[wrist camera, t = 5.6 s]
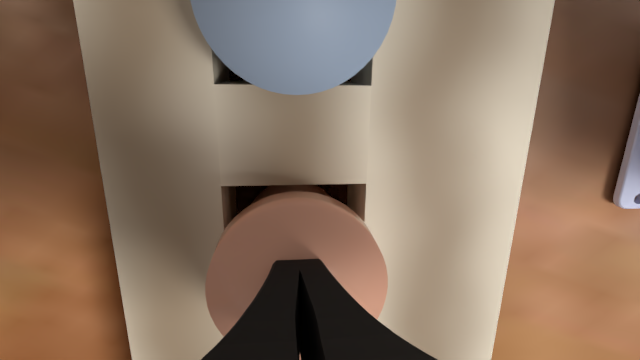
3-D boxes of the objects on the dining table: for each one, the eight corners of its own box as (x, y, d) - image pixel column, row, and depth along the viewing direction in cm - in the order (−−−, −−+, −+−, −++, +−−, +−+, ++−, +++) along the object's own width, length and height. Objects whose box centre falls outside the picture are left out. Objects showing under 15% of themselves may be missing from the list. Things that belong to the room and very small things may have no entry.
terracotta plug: (359, 161, 15) (393, 203, 10) (354, 278, 16) (382, 359, 12) (224, 163, 14) (197, 207, 10) (232, 283, 16) (212, 371, 11)
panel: (517, -165, 13) (598, -245, 10) (435, 438, 21) (464, 507, 18) (97, -198, 12) (23, -304, 8) (181, 460, 20) (161, 541, 16)
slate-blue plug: (363, -64, 13) (405, -131, 9) (357, 87, 15) (390, 95, 10) (213, -71, 13) (177, -145, 8) (223, 85, 14) (196, 94, 10)
